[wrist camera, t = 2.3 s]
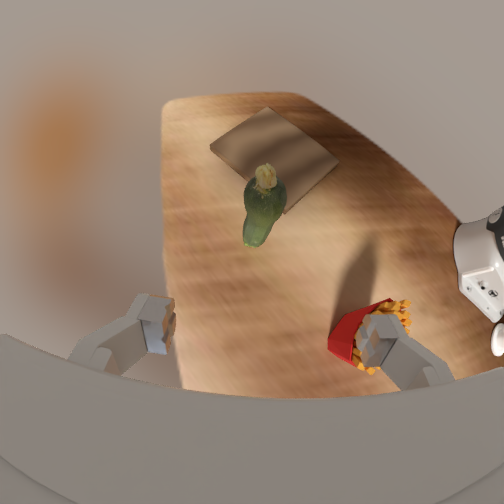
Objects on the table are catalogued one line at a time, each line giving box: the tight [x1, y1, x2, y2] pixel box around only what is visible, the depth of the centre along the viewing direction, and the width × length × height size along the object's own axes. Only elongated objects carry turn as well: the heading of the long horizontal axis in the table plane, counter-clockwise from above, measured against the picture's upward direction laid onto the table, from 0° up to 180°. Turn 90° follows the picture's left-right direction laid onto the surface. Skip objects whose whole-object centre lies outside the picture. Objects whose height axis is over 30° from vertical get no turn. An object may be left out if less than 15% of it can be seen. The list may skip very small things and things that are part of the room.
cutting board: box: [210, 107, 339, 214], centre depth 43 cm, size 17×14×2 cm
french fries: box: [328, 298, 412, 375], centre depth 30 cm, size 9×4×13 cm, turn 141°
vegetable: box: [243, 163, 287, 248], centre depth 30 cm, size 4×4×20 cm
